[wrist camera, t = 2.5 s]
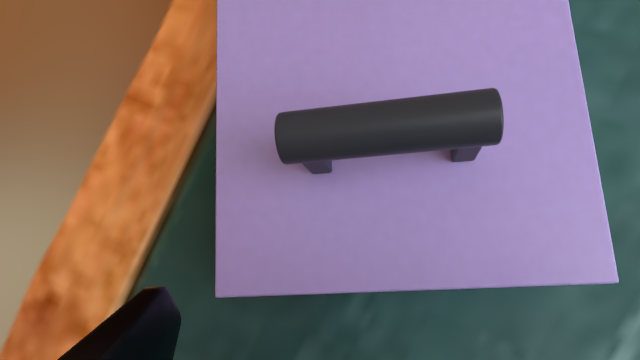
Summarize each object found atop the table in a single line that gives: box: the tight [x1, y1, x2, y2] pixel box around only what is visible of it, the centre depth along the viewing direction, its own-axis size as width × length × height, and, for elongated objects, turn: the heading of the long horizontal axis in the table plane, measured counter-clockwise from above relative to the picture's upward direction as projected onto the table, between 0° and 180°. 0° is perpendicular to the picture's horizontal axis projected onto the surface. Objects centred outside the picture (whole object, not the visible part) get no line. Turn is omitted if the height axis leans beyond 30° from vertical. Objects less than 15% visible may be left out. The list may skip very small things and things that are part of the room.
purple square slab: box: [215, 0, 619, 298], centre depth 14 cm, size 15×12×5 cm
